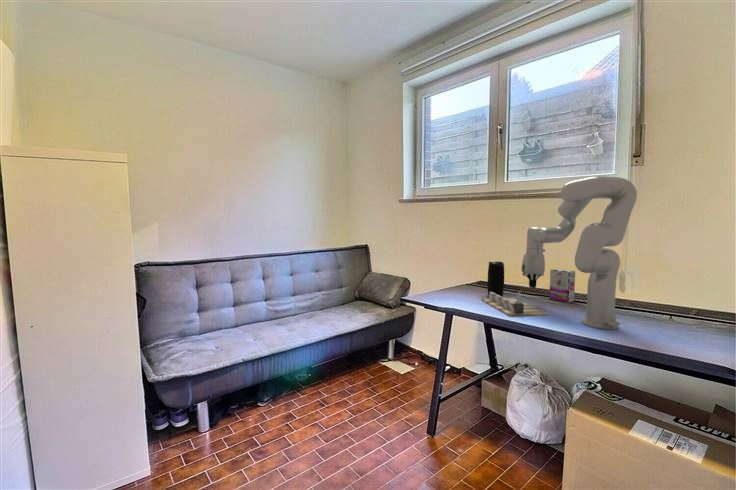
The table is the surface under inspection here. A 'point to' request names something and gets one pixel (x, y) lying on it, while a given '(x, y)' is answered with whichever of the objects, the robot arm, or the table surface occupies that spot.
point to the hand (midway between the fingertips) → (532, 287)
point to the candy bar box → (562, 285)
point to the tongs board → (512, 306)
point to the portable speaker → (496, 278)
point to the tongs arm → (518, 297)
